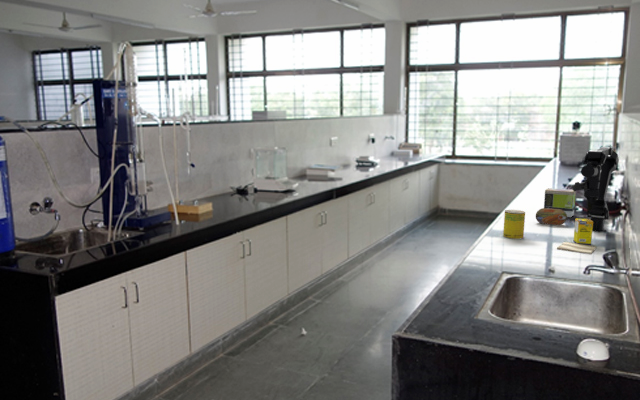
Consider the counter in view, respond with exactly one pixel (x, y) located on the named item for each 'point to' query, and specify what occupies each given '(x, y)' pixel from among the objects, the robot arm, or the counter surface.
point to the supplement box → (583, 231)
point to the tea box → (560, 200)
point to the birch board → (577, 247)
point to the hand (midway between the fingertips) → (589, 210)
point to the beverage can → (514, 224)
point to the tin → (551, 216)
